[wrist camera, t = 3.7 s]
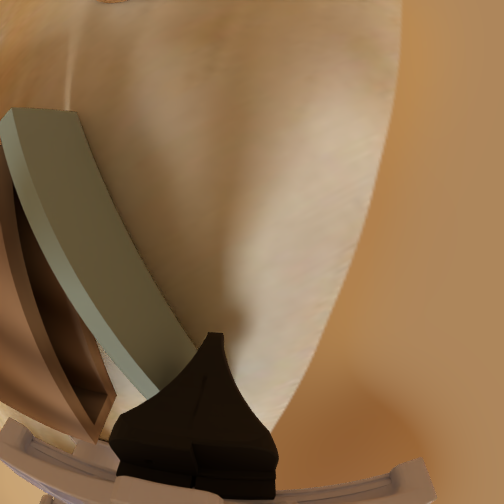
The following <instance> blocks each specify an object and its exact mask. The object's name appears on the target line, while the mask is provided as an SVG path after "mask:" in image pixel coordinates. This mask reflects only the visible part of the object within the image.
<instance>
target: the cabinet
mask: <svg viewBox="0 0 504 504" xmlns="http://www.w3.org/2000/svg"><path fill="white" fill-rule="evenodd" d="M116 396H117V395H116V393H115V391H114V388H113V386H112V384H111V381H110V379H109V376H108V374H107V371H106V369H105V366H104V363H103V361H102V358H101V355H100V352H99V349H98V347H97V344H96V341H95V338H94V335H93V334H92V333H91V331H90V330H89V328H88V327H87V326H86V324H85V323H84V321H83V320H82V318H81V317H80V315H79V314H78V312H77V311H76V309H75V308H74V306H73V304H72V303H71V301H70V300H69V298H68V296H67V295H66V293H65V292H64V290H63V288H62V287H61V285H60V283H59V281H58V280H57V278H56V276H55V274H54V273H53V271H52V269H51V267H50V265H49V263H48V261H47V259H46V258H45V256H44V254H43V252H42V250H41V248H40V246H39V244H38V241H37V239H36V237H35V235H34V233H33V231H32V228H31V226H30V224H29V222H28V219H27V217H26V214H25V212H24V210H23V207H22V205H21V202H20V199H19V197H18V194H17V191H16V188H15V186H14V183H13V180H12V177H11V174H10V170H9V167H8V164H7V160H6V157H5V153H4V150H3V146H2V145H0V401H1V402H3V403H5V404H6V405H8V406H10V407H11V408H13V409H15V410H17V411H19V412H20V413H22V414H24V415H26V416H28V417H30V418H32V419H34V420H36V421H38V422H40V423H42V424H44V425H46V426H49V427H51V428H53V429H55V430H58V431H60V432H62V433H65V434H67V435H70V436H72V437H75V438H77V439H80V440H83V441H86V442H88V443H91V444H94V445H96V444H97V441H98V439H99V436H100V434H101V431H102V429H103V426H104V424H105V422H106V419H107V417H108V414H109V412H110V410H111V407H112V405H113V403H114V401H115V398H116Z"/></svg>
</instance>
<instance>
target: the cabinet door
mask: <svg viewBox="0 0 504 504" xmlns="http://www.w3.org/2000/svg"><path fill="white" fill-rule="evenodd" d="M0 138H1V142H2V146H3V150H4V153H5V157H6V160H7V164H8V167H9V170H10V174H11V177H12V180H13V183H14V186H15V188H16V191H17V194H18V197H19V199H20V202H21V205H22V207H23V210H24V212H25V214H26V217H27V219H28V222H29V224H30V226H31V228H32V231H33V233H34V235H35V237H36V239H37V241H38V244H39V246H40V248H41V250H42V252H43V254H44V256H45V258H46V259H47V261H48V263H49V265H50V267H51V269H52V271H53V273H54V274H55V276H56V278H57V280H58V281H59V283H60V285H61V287H62V288H63V290H64V292H65V293H66V295H67V296H68V298H69V300H70V301H71V303H72V304H73V306H74V308H75V309H76V311H77V312H78V314H79V315H80V317H81V318H82V320H83V321H84V323H85V324H86V326H87V327H88V328H89V330H90V331H91V333H92V334H93V335H94V337H95V338H96V340H97V341H98V342H99V344H100V345H101V346H102V348H103V349H104V350H105V351H106V353H107V354H108V355H109V357H110V358H111V359H112V360H113V362H114V363H115V364H116V365H117V366H118V368H119V369H120V370H121V371H122V372H123V374H124V375H125V376H126V377H127V378H128V379H129V381H130V382H131V383H132V384H133V385H134V386H135V387H136V388H137V390H138V391H139V392H140V393H141V394H142V395H143V396H144V397H145V398H146V399H147V400H148V399H150V398H151V397H153V396H154V395H156V394H157V393H158V392H160V391H161V390H162V389H163V388H164V387H166V386H167V385H168V384H169V383H170V382H171V381H172V380H173V379H174V378H175V377H176V376H177V375H178V374H179V373H180V372H181V371H182V370H183V369H184V368H185V367H186V365H187V364H188V363H189V362H190V361H191V359H192V358H193V357H194V355H195V354H196V352H197V349H196V348H195V346H194V345H193V343H192V342H191V340H190V339H189V337H188V336H187V334H186V333H185V331H184V330H183V328H182V327H181V325H180V323H179V322H178V320H177V319H176V317H175V316H174V314H173V312H172V311H171V309H170V307H169V306H168V304H167V303H166V301H165V299H164V298H163V296H162V294H161V293H160V291H159V289H158V287H157V286H156V284H155V282H154V281H153V279H152V277H151V275H150V274H149V272H148V270H147V268H146V266H145V265H144V263H143V261H142V259H141V257H140V255H139V253H138V252H137V250H136V248H135V246H134V244H133V242H132V240H131V238H130V236H129V234H128V232H127V230H126V228H125V226H124V224H123V222H122V220H121V218H120V216H119V214H118V212H117V210H116V208H115V206H114V204H113V201H112V199H111V197H110V195H109V193H108V190H107V188H106V186H105V184H104V181H103V179H102V177H101V174H100V172H99V170H98V167H97V165H96V163H95V160H94V158H93V155H92V153H91V150H90V147H89V145H88V142H87V140H86V137H85V134H84V132H83V129H82V126H81V123H80V120H79V117H78V115H77V112H71V111H64V110H53V109H51V110H50V109H35V108H21V107H12V108H11V109H10V110H9V111H8V112H7V113H6V115H5V116H4V117H3V118H2V119H1V121H0Z"/></svg>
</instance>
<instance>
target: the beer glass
mask: <svg viewBox="0 0 504 504" xmlns="http://www.w3.org/2000/svg"><path fill="white" fill-rule="evenodd" d="M97 1H99V2H103V3H119V2H124V1H128V0H97Z"/></svg>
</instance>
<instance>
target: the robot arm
mask: <svg viewBox="0 0 504 504" xmlns="http://www.w3.org/2000/svg"><path fill="white" fill-rule="evenodd" d="M69 437H70V438H71V439H72V440H73V442H74V443H75V444H76V447H75V449H74V451H73V454H70V453H67V452H65V451H63V450H61V449H58V448H56V447H54V446H52V445H50V444H48V443H46V442H44V441H42V440H40V439H38V438H36V437H34V436H33V434H32V433H31V432H30V431H29V430H28V429H27V428H26V427H25V426H24V425H22V424H20V423H19V422H17V421H15V420H13V419H12V418H8V420H7V421H6V423H5V425H4V426H3V428H2V430H1V431H0V460H1V461H2V462H3V463H5V464H6V465H7V466H8V467H9V468H10V469H11V470H12V471H14V472H15V473H16V474H17V475H19V476H20V477H22V478H23V479H25V480H26V481H28V482H30V483H31V484H33V485H35V486H36V487H38V488H39V489H41V490H43V491H44V492H46V493H48V495H43V496H42V499H41V501H40V504H430V503H432V502H433V501H435V500H436V499H437V495H436V493H435V490H434V487H433V484H432V482H431V479H430V476H429V474H428V471H427V469H426V466H425V463H424V461H423V458H417V459H414V460H411V461H408V462H405V463H402V464H399V465H397V466H396V467H394V468H393V469H392V470H391V471H390V473H387V474H383V475H380V476H376V477H372V478H367V479H363V480H359V481H354V482H349V483H343V484H337V485H331V486H324V487H316V488H307V489H297V490H281V491H276V490H275V479H276V472H275V469H276V467H277V464H278V460H279V456H278V451H277V448H276V445H275V443H274V441H273V438H272V436H271V434H270V432H269V430H268V429H267V428H266V427H265V426H264V425H263V424H262V423H261V422H260V421H259V419H258V418H257V417H256V416H255V414H254V413H253V412H252V410H251V409H250V407H249V406H248V404H247V403H246V401H245V400H244V398H243V397H242V395H241V393H240V391H239V389H238V387H237V385H236V383H235V381H234V379H233V377H232V374H231V372H230V369H229V366H228V363H227V359H226V356H225V352H224V335H223V333H212V332H208V335H207V337H206V339H205V340H204V342H203V344H202V345H201V347H200V348H199V350H198V351H197V352H196V354H195V355H194V357H193V358H192V359H191V361H190V362H189V363H188V364H187V365H186V367H185V368H184V369H183V370H182V371H181V372H180V373H179V374H178V375H177V376H176V377H175V378H174V379H173V380H172V381H171V382H170V383H169V384H168V385H167V386H166V387H164V388H163V389H162V390H161V391H160V392H158V393H157V394H156V395H154V396H153V397H151V398H150V399H148V400H147V401H145V402H144V403H142V404H140V405H139V406H137V407H135V408H133V409H131V410H129V411H127V412H125V413H123V414H121V415H120V416H119V418H118V420H117V421H116V423H115V425H114V427H113V430H112V432H111V435H110V437H109V441H108V442H104V441H101V440H98V441H97V444H96V445H94V444H91V443H88V442H86V441H83V440H80V439H77V438H75V437H72V436H70V435H69ZM53 497H54V500H53V499H52V498H53Z"/></svg>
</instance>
